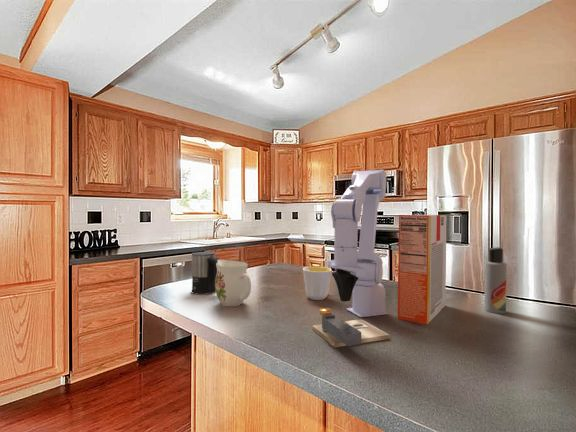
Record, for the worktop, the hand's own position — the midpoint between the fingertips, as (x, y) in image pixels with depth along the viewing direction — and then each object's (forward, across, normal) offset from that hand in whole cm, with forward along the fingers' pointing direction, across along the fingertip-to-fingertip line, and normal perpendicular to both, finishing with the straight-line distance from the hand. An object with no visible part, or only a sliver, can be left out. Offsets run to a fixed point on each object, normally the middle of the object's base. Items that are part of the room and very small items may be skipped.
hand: (345, 300), depth 82 cm
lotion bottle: (+9, -1, +54) cm, 55 cm away
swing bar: (+6, +5, -5) cm, 9 cm away
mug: (+9, -34, +10) cm, 36 cm away
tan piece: (+8, 0, +1) cm, 8 cm away
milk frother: (+9, -57, -25) cm, 63 cm away
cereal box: (+9, -8, +32) cm, 35 cm away
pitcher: (+9, -35, -22) cm, 42 cm away
